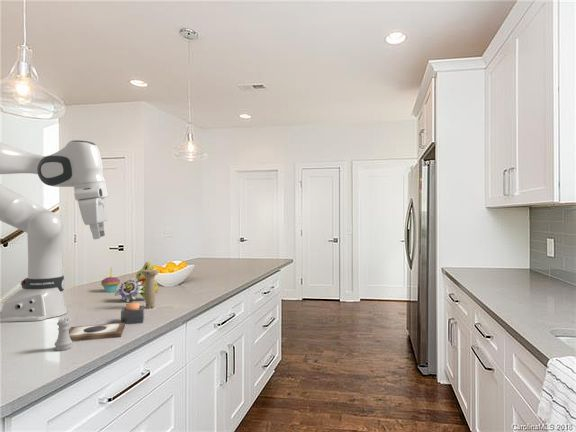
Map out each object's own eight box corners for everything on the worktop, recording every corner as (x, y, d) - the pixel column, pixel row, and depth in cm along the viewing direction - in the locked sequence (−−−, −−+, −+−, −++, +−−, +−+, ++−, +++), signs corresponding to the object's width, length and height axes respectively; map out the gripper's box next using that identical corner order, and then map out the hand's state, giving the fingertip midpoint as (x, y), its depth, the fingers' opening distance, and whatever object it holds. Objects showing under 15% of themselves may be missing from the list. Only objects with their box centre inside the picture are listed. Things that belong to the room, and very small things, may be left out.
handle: (155, 309, 150) (155, 271, 150) (139, 308, 151) (139, 271, 151) (160, 306, 155) (160, 269, 155) (145, 305, 155) (145, 269, 156)
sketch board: (61, 342, 110) (61, 337, 110) (70, 330, 121) (70, 326, 121) (120, 336, 114) (120, 331, 114) (124, 326, 126) (124, 321, 126)
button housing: (120, 324, 128) (120, 311, 128) (123, 319, 134) (123, 306, 134) (142, 322, 130) (142, 309, 130) (143, 317, 137) (143, 305, 137)
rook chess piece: (76, 345, 107) (76, 317, 107) (67, 351, 102) (67, 321, 102) (60, 345, 107) (60, 317, 107) (50, 351, 102) (50, 321, 102)
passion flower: (128, 314, 163) (110, 293, 159) (133, 304, 173) (116, 284, 170) (150, 299, 163) (132, 278, 160) (153, 290, 174) (137, 270, 171)
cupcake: (102, 290, 190) (102, 266, 190) (121, 289, 193) (121, 265, 193) (99, 293, 182) (99, 268, 182) (118, 292, 185) (119, 268, 185)
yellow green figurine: (138, 291, 188) (138, 261, 188) (160, 291, 187) (160, 261, 187) (132, 293, 181) (132, 262, 181) (154, 294, 180) (154, 262, 181)
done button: (125, 314, 129) (125, 305, 130) (126, 311, 134) (126, 303, 134) (139, 313, 131) (139, 305, 131) (139, 310, 135) (139, 302, 135)
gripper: (86, 195, 124) (94, 236, 125) (72, 193, 104) (81, 242, 105) (107, 193, 126) (114, 233, 127) (97, 190, 106) (106, 238, 107)
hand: (99, 237), depth 116 cm, fingers open, 8 cm apart
